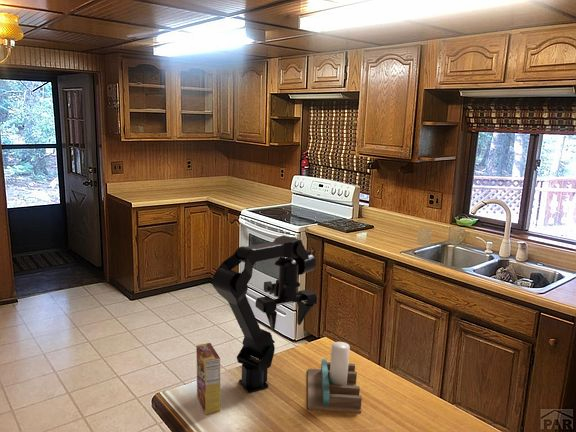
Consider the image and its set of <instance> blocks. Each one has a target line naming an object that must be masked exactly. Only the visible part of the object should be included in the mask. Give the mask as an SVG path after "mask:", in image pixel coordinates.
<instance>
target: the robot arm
mask: <svg viewBox="0 0 576 432" xmlns="http://www.w3.org/2000/svg"><path fill="white" fill-rule="evenodd" d="M276 258H278V259H277V260H276V261H275V263H274V265H275V266H277V267H278V278H277V279H276V281H275V282H274V283H273V282H272V281H271V280H270V281H264V282H263V291H264V292H265V293H269V295H273V297H276V298H274V299H273V298H271V297H270V296H268V295H266V296H261V297H257V298H256V300H255V308H257V309H258V310H260V312H262V313H264V314H265V316H266V318H267V321H268V324H269V327H270V329H271V331H275V329H276V321H277V316H278V315H277V314H278V312H277V311H276V310H277V306H283V305H287V304H294V303H296V304H297V318H296V319H297V323H296V324H297V325H298V326H300V325H301V324H302V322H303V321H304V319H305V317H306V316H307V314H308V313H309V311H310V310H311V308H312V307H314V306H315V304H318V299H319V298H318V295H317V294H316V293H315V292H313V291H311V290H310V289H302V290H299V291H298V288H299V287H301V282H299V276H301V275H304V274H306V273H309V272H312V271H314V270H315V269H316V267H317V261H316V257H315V256H314V255H313V254H312V250H308V249H306V247H305V246H304V244H303V241H302V239H301V238H299V237H292V236H289V235H283V234H282V235H280V236H278V237H276V238H275V239H274V240H273V241H271V242H264V243H259V244H254V245H247V246H243V245H242V246H239V247H238V248H237V249H236V250H235V251H234V253H233V254H232V255H230V256H229V257H227V258H226V259H224V260H223V261H222V262H221V264H220V265H219V267H218V268H217V269H216V271H215V272H214V273H213V276H212V279H211V284H212V287H213V288H214V289H215V291H216V292H217V293H218V295H220V296H221V297H222V298H223V299H224V300H225V301H227V302H228V305H229V306H230V309H231V311H232V313H233V316H234V317H235V319H236V321H237V323H238V325H239V328H240V331H241V332H242V334H243V339H242V347H241V348H240V351H239V352H238V354H237V355H236V360H237V363H238V364H241V379H239V380H238V383H239V384H240V385H241V386H242V387H243V388H244V390H245V391H246V392H247V393H253V392H256V391H259V390H264V389H266V388H269V384H268V383H267V382H268V369H270V368H271V367H272V363H273V359H274V356H275V355H274V354H275V350H276V349H275V348H276V347H275V342H276V341H275V340H274V339H273V335H272V333H271V332H270V331H267V330H266V329H262V328H260V325H259V322H258V320H257V318H256V315H255V314H254V311H253V309H252V307H251V306H252V305H251V304H250V302H249V300H248V297H247V293H248V290H249V288H248V287H249V286H248V283H249V282H250V280H251V279H252V277H253V268H254V266H255V264H256V262H257V263H258V262H261V261H266V260H271V259H276ZM241 263H244V266H243V270H242V271H241V272H239V271H236V270H233V269H234V268H236V267H237V266H238V265H240V264H241Z"/></svg>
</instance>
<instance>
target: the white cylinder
mask: <svg viewBox="0 0 576 432" xmlns="http://www.w3.org/2000/svg"><path fill="white" fill-rule="evenodd" d="M350 350H351V346H350V344H348V343H347V342H343V341H334V342H332V344H331V351H330V352H331V353H330V362H331V363H330V377H329V384H332V385H347V376H348V364H350V362H349V360H350Z"/></svg>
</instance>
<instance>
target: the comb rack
mask: <svg viewBox="0 0 576 432" xmlns="http://www.w3.org/2000/svg"><path fill="white" fill-rule="evenodd" d="M327 359H328V358H321V361H320V362H321V363H320V365H321V367H320V369H319V368H307V410H311V411H314V410H315V411H327V412H345V413H359V414H360V413H362V401H363V399H362V398H363V397H362V395H360V390H361V388H360V386H359V385H357V371H355V370H356V363H349V364H348V376H347V385H332V384H329V377H330V363H331V361H328V360H327Z"/></svg>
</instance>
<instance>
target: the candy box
mask: <svg viewBox="0 0 576 432" xmlns="http://www.w3.org/2000/svg"><path fill="white" fill-rule="evenodd" d="M195 349H196V351H195V352H196V397H197V399H198V401H199V403H200V405H201V407H202V410H203V413H204V415H210V414H214V413H219V412H220V411H221V357H220V355H219V354H218V353H217V351H216V349H215V348H214V346H213V345H212V343H211V342H208V343H202V344H197V345H196V347H195Z"/></svg>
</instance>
